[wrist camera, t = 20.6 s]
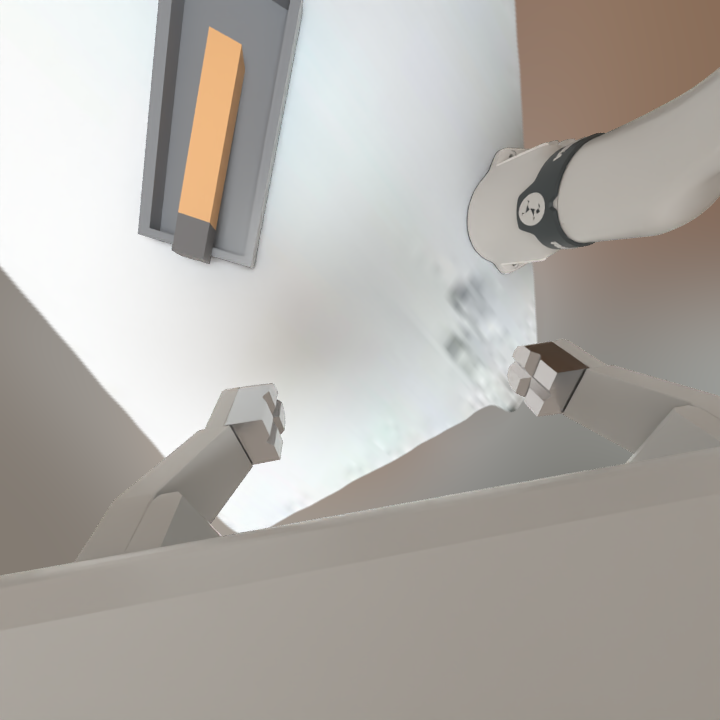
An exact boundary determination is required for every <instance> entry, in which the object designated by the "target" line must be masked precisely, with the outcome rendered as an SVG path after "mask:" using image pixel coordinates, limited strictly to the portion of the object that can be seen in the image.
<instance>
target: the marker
mask: <svg viewBox="0 0 720 720" xmlns="http://www.w3.org/2000/svg"><path fill="white" fill-rule="evenodd" d="M244 73H245V65H244V58H243V50H242V44H240V43H238V42H236V41H235V40H233V39H231V38H229V37H228V36H226V35H224V34H222V33H220V32H219V31H217V30H215V29H213V28H211V27H210V26H209V31H208V37H207V43H206V49H205V55H204V61H203V67H202V73H201V78H200V84H199V90H198V96H197V102H196V108H195V114H194V120H193V126H192V132H191V138H190V144H189V150H188V156H187V162H186V168H185V174H184V180H183V186H182V192H181V198H180V204H179V210H178V216H177V222H176V228H175V234H174V240H173V246H172V251H174V252H176V253H177V254H179V255H181V256H184V257H187V258H191V259H194V260H198V261H201V262H205V263H208V264H210V259H211V253H212V248H213V243H214V237H215V232H216V226H217V221H218V215H219V210H220V204H221V199H222V193H223V188H224V183H225V177H226V172H227V166H228V161H229V155H230V150H231V144H232V139H233V133H234V128H235V122H236V117H237V112H238V106H239V101H240V95H241V90H242V84H243V79H244Z"/></svg>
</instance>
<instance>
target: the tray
mask: <svg viewBox="0 0 720 720" xmlns="http://www.w3.org/2000/svg"><path fill="white" fill-rule="evenodd" d="M302 12H303V0H159V3H158V14H157V25H156V37H155V48H154V59H153V70H152V82H151V93H150V104H149V115H148V127H147V138H146V149H145V160H144V172H143V183H142V194H141V205H140V217H139V228H138V234H140V235H143V236H147V237H150V238H153V239H157V240H160V241H163V242H167V243H170V244H173V240H174V234H175V228H176V222H177V216H178V210H179V204H180V198H181V192H182V186H183V180H184V174H185V168H186V162H187V156H188V150H189V144H190V138H191V132H192V126H193V120H194V114H195V108H196V102H197V96H198V90H199V84H200V78H201V73H202V67H203V61H204V55H205V49H206V43H207V37H208V31H209V26H210V27H211V28H213V29H215V30H217V31H219V32H220V33H222V34H224V35H226V36H228V37H229V38H231V39H233V40H235V41H236V42H238V43H240V44H242V50H243V58H244V65H245V73H244V79H243V84H242V90H241V95H240V101H239V106H238V112H237V117H236V122H235V128H234V133H233V139H232V144H231V150H230V155H229V161H228V166H227V172H226V177H225V183H224V188H223V193H222V199H221V204H220V210H219V215H218V221H217V226H216V232H215V237H214V243H213V248H212V253H211V256H213V257H216V258H220V259H223V260H226V261H230V262H233V263H236V264H240V265H243V266H246V267H250V268H254V265H255V259H256V254H257V249H258V244H259V239H260V233H261V228H262V223H263V218H264V212H265V207H266V202H267V197H268V191H269V186H270V181H271V176H272V170H273V165H274V160H275V155H276V150H277V144H278V139H279V134H280V129H281V123H282V118H283V113H284V108H285V102H286V97H287V92H288V87H289V81H290V76H291V71H292V66H293V61H294V55H295V50H296V45H297V40H298V34H299V29H300V24H301V19H302Z"/></svg>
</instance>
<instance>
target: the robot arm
mask: <svg viewBox="0 0 720 720" xmlns="http://www.w3.org/2000/svg"><path fill="white" fill-rule="evenodd" d="M509 157H510V158H509ZM719 196H720V68H719V69H717V70H716V71H715V72H714V73H712V74H711V75H710V76H708V77H707V78H706V79H704V80H703V81H702V82H700V83H699V84H697V85H696V86H695V87H693V88H692V89H691V90H689V91H687V92H685V93H684V94H682V95H681V96H679V97H677V98H675V99H674V100H672V101H670V102H668V103H666V104H664V105H662V106H660V107H659V108H657V109H655V110H653V111H651V112H649V113H647V114H645V115H643V116H641V117H639V118H637V119H635V120H633V121H631V122H629V123H627V124H625V125H623V126H621V127H618V128H616V129H614V130H612V131H610V132H607V133H597V134H594V135H591V136H588V137H584V138H581V139H579V140H575V139H567V140H564V141H561V142H559V143H558V140H555V141H551V142H549V143H548V142H546V143H543V144H540V145H538V146H536V147H533V148H531V149H520V148H504V149H502V150H499V151H498V152H497V154H496V155H495V157H494V160H493V162H492V165H491V168H490V170H489V172H488V173H487V174H486V176H485V177H484V178H483V179H482V181H481V182H480V183H479V185H478V186H477V188H476V190H475V192H474V194H473V196H472V199H471V202H470V205H469V210H468V232H469V237H470V240H471V242H472V245H473V246H474V248H475V250H476V251H477V252H478V253H479V254H480V255H481V256H482V257H483V258H485V259H486V260H489V261H491V262H493V263H494V264H495V265H496V267H497V268H498V269H499V271H500V272H501V273H503V274H508V273H511V272H513V271H515V270H517V269H518V268H520V267H522V266H524V265H526V264H527V263H529V262H538V261H544V260H546V258H547V257H549V256H551V255H553V254H554V253H556V252H557V251H559V250H560V249H574V248H578V247H583V246H588V245H590V244H593V243H595V242H599V241H608V240H618V239H627V238H636V237H646V236H655V235H659V234H663V233H666V232H668V231H671V230H673V229H676V228H678V227H680V226H682V225H684V224H686V223H688V222H690V221H691V220H693V219H694V218H696V217H697V216H699V215H700V214H701V213H702V212H704V211H705V210H706V209H707V208H709V207H710V206H711V205H712V204H713V203H714V202H715V201H716V199H717V198H718V197H719ZM512 264H513V265H512ZM512 357H513V359H514V360H515V362H514V363H513V364H512V365H511V366H510V367H509V369H508V373H507V377H508V383H509V385H510V387H511V388H512V389H513V391H514V392H515V393H517V394H519V395H521V396H523V397H524V403H525V404H526V405H527V406H528V407H529V408H530V409H531V410H532V411H533V413H534V414H535V415H536V416H537V417H538V416H546V415H553V414H561V413H563V415H565V416H566V417H568V418H570V419H572V420H574V421H575V422H577V423H579V424H581V425H583V426H584V427H586V428H588V429H590V430H592V431H594V432H595V433H597V434H599V435H601V436H603V437H605V438H606V439H608V440H610V441H612V442H614V443H615V444H617V445H619V446H621V447H623V448H624V449H627V450H628V451H630V452H632V453H633V456H632V457H631V458H630V459H629V460H628V461H627V462H626V464H620V465H614V466H609V467H603V468H597V469H592V470H586V471H582V472H575V473H570V474H564V475H559V476H553V477H547V478H542V479H536V480H531V481H525V482H519V483H514V484H508V485H503V486H497V487H492V488H486V489H481V490H475V491H470V492H464V493H459V494H453V495H447V496H442V497H437V498H431V499H425V500H421V501H414V502H409V503H404V504H398V505H392V506H387V507H381V508H375V509H370V510H364V511H359V512H354V513H348V514H343V515H337V516H331V517H325V518H320V519H315V520H309V521H304V522H298V523H292V524H287V525H281V526H276V527H270V528H264V529H259V530H253V531H248V532H242V533H236V534H232V535H225V536H221V535H220V534H219V533H218V532H217V530H216V529H215V528H214V527H213V526H212V525H211V523H212V521H213V520H214V519H215V517H216V516H217V515H218V513H219V512H220V511H221V509H222V508H223V506H224V505H225V504H226V502H227V501H228V500H229V498H230V497H231V496H232V494H233V493H234V491H235V490H236V489H237V487H238V486H239V485H240V483H241V482H242V480H243V479H244V478H245V476H246V475H247V474H248V472H249V471H250V470H251V468H252V467H253V466H252V465H254V464H259V463H264V462H270V461H275V460H280V458H281V451H282V444H283V440H282V438H281V433H282V432H283V431H284V430H285V412H284V408H283V405H282V402H280V401H279V400H277V395H278V391H277V389H276V387H275V385H274V384H273V383H269V384H261V385H254V386H246V387H241V388H232V389H225V390H224V391H222V393H221V395H220V397H219V399H218V401H217V404H216V406H215V408H214V410H213V412H212V414H211V417H210V419H209V421H208V423H207V425H206V427H205V429H203V430H199V431H198V432H196V433H195V434H194V435H193V436H192V437H190V438H189V439H188V440H187V441H186V442H184V443H183V444H182V445H181V446H179V447H178V448H177V449H176V450H175V451H173V452H172V453H171V454H170V455H168V456H167V457H166V458H165V459H164V460H162V461H161V462H160V463H159V464H158V465H156V466H155V467H154V468H153V469H151V470H150V471H149V472H148V473H147V474H145V475H144V476H143V477H142V478H140V479H139V480H138V481H137V482H136V483H134V484H133V485H132V486H131V487H130V488H128V489H127V490H126V491H125V492H123V493H122V494H121V495H120V496H119V497H117V498H116V499H115V500H114V501H113V502H112V504H111V505H110V507H109V508H108V510H107V512H106V513H105V515H104V516H103V518H102V519H101V521H100V523H99V524H98V526H97V527H96V529H95V530H94V532H93V533H92V535H91V537H90V538H89V540H88V541H87V543H86V544H85V546H84V548H83V549H82V551H81V552H80V554H79V556H78V557H77V559H76V560H75V562H74V563H69V564H63V565H58V566H52V567H47V568H41V569H36V570H30V571H25V572H19V573H13V574H8V575H2V576H0V720H720V396H718V395H715V394H711V393H708V392H704V391H701V390H697V389H694V388H690V387H687V386H683V385H680V384H676V383H673V382H670V381H666V380H663V379H659V378H656V377H652V376H649V375H645V374H642V373H638V372H635V371H631V370H628V369H625V368H621V367H618V366H614V365H610V366H607V365H606V364H604V363H603V362H601V361H599V360H598V359H597V358H595V357H593V356H592V355H590V354H589V353H587V352H586V351H584V350H583V349H581V348H579V347H578V346H576V345H575V344H573V343H572V342H570V341H569V340H565V339H558V340H552V341H547V342H543V343H536V344H530V345H524V346H518V347H517V348H516V349H515V350H514V353H513V356H512Z"/></svg>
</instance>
